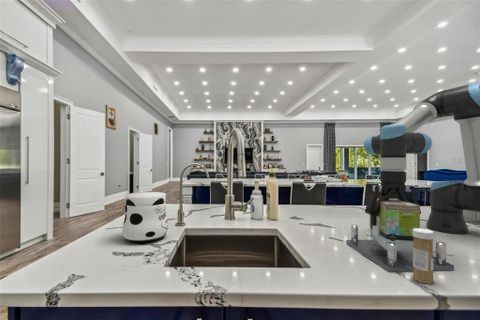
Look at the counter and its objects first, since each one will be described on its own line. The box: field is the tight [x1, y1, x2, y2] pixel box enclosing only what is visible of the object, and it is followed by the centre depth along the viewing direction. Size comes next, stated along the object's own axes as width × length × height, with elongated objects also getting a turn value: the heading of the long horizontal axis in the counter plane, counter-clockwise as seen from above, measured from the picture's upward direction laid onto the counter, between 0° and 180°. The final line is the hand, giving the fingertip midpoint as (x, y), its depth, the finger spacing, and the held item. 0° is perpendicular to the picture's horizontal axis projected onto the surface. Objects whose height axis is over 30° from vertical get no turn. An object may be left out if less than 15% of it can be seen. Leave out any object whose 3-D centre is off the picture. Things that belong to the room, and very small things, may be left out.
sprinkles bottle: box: [412, 227, 435, 284], centre depth 65 cm, size 5×5×14 cm
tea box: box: [369, 197, 421, 252], centre depth 83 cm, size 15×10×15 cm, turn 169°
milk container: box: [121, 191, 169, 243], centre depth 99 cm, size 17×17×18 cm
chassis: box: [345, 224, 455, 273], centre depth 82 cm, size 20×24×8 cm
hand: (392, 235), depth 82 cm, fingers closed on tea box, 11 cm apart
